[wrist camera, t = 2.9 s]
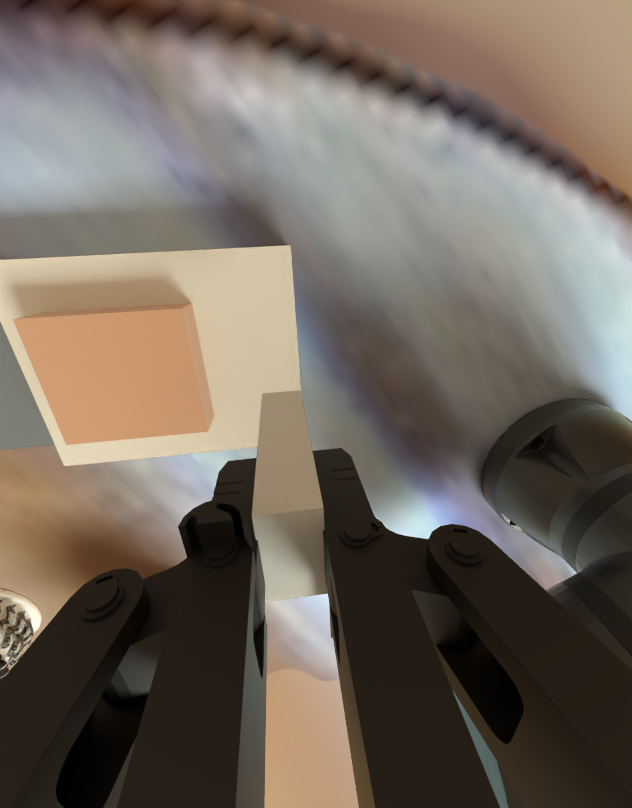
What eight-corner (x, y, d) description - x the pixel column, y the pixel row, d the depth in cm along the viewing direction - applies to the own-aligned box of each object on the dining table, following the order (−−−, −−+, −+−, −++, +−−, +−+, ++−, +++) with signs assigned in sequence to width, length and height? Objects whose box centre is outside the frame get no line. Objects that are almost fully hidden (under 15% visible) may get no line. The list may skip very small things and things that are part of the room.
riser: (288, 247, 24) (290, 245, 20) (301, 419, 29) (304, 442, 26) (23, 260, 22) (-27, 261, 19) (91, 439, 28) (64, 466, 24)
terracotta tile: (191, 302, 21) (181, 308, 18) (214, 415, 24) (208, 431, 22) (41, 312, 20) (12, 319, 18) (85, 427, 23) (66, 445, 21)
